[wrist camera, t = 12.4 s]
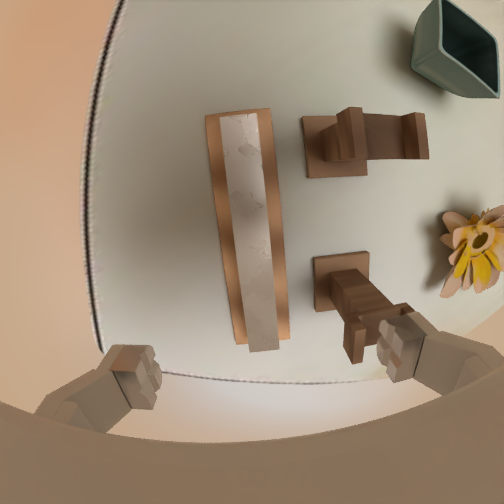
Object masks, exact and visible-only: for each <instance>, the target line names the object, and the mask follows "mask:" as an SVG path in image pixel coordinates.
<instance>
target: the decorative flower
mask: <svg viewBox="0 0 504 504" xmlns="http://www.w3.org/2000/svg"><path fill="white" fill-rule="evenodd" d="M503 215H504V205H501V206H499V207H496V208H493V209H491V210H490V211H489V208H488V209H487V211H486V213H485V212H484V211H483V212H482V215H481V219H480V218H479V216H478V215H475V214H472V220H471V219H469V221H468V220H467V219H466V218H465V217H463V216H462V215H460V214H458V213H457V212H445V214H444V215H443V217H442V219H443V221H444V223H445V225H446V227H447V228H448V230H449V232H450V234H443V235H442V236H441V237H440V240H441V241H442V242H444V243H445V244H446V245H447V246H448V247H450V248H451V249H453V250H454V251H453V252H452V254H451V255H450V257H449V262H450V264H451V265H453V266H452V268H451V270H450V272H449V275H448V277H447V279H446V281H445V283H444V286H443V289H442V291H441V294H440V297H442V298H449V297H451V296H453V295H454V294H455V293H456V292H457V290H458V289H459V288H460V286H461V284H462V281H463V279H464V282H463V286H462V289H463V290H466V289H468V288H469V287H470V286H471V285H472V283H474V289H475V292H476V293H481V292H482V291H483V290H485V289H488V288H490V287H492V286H493V285H495V284H496V282H497V280H498V278H499V274H500V271H504V216H503ZM502 216H503V217H502ZM500 217H501V218H500ZM499 218H500V219H499ZM497 219H498V220H497ZM467 263H468V265H467ZM466 266H467V269H466ZM464 276H465V277H464Z"/></svg>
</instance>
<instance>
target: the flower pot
mask: <svg viewBox="0 0 504 504" xmlns="http://www.w3.org/2000/svg"><path fill="white" fill-rule="evenodd" d="M411 68H412V70H414V71H415V72H417V73H419V74H420V75H422V76H424V77H425V78H427V79H428V80H430V81H432V82H433V83H435V84H436V85H438V86H439V87H441V88H443V89H445V90H447V91H449V92H451V93H453V94H455V95H458V96H461V97H466V98H498V99H499V98H500V68H499V52H498V43H497V40H496V38H495V37H494V36H493V35H492V34H491V33H490V32H489V31H488V30H486V29H485V28H484V27H483V26H482V25H481V24H479V23H478V22H477V21H476V20H475V19H473V18H472V17H471V16H470V15H468V14H467V13H466V12H465V11H463V10H462V9H461V8H459V7H458V6H457V5H455V4H454V3H453V2H451V1H450V0H433V1H432V2H431V3H430V4H429V5H428V6H427V8H426V9H425V10H424V11H423V12H422V14H421V15H420V17H419V19H418V21H417V24H416V27H415V32H414V39H413V51H412V59H411Z"/></svg>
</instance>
